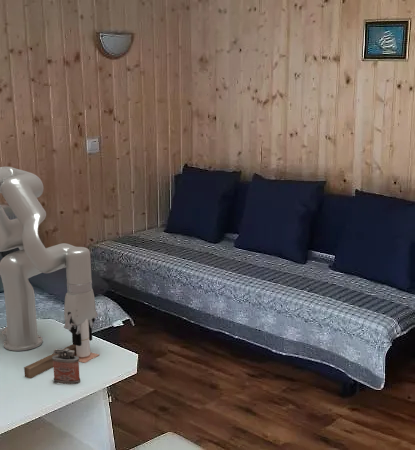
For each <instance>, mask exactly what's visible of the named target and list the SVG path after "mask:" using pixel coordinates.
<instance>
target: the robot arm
mask: <svg viewBox="0 0 415 450" xmlns="http://www.w3.org/2000/svg"><path fill="white" fill-rule="evenodd" d="M43 193H44V184H43V181H42V179H41V178H40V177H39V176H38V175H36V174H35V173H33V172H30V171H26V170H23V169H20V168H19V169H18V168H16V167H12V166H0V194H1V195H2V197H3V198H4V200H5V202H6V203H7V205H8V206H9V208H10V209H11V211H12V213H13V214H14V215H15V217H16V218H13V219H10V218H9V216H8V215H7V213H6V212H5V209H4V208H3V206H2V205H1V204H0V252H1V253H2V252H7V251H12V250H14V249H17V248H18V249H19V250H17V251H13V252H10V253H9V254H7V255H5V256H4V257H2V259H1V260H0V278H1V282H2V287H3V293H4V294H3V295H4V303H5V317H6V318H5V319H6V327H5V328H4V330H2V331H1V335H3V336H5V337H6V339H5V340H4V341H3V348H5V349H6V350H9V351H15V352H17V351H18V352H19V351H20V352H21V351H28V350H33V349H35V348H38V347H39V346H41V345H42V344H43V343H44V341H43V340H44V339H43V337H42V336H41V335H38V325H37V324H38V323H37V310H36V308H37V307H36V298H35V297H36V296H35V290H34V287H33V285H32V284H31V283H30V281H29V279H30V278H32V277H35V276H37V275H40V274H42V273H43V274H51V273H53V272H56V271H59V270H61V269H65V271H66V275H65V276H66V287H67V288H66V289H67V292H66V293H65V297H64V308H63V309H64V311H63V312H64V313H63V314H64V326H63V328H64V329H66V330H68V331H69V332H70V334H71V339H72V344H74V345H77V346H81V334H80V333H79V331H80V324H82V323H84V322H85V320H86V319H87V320H88V323H89V342H90V341H93V328H94V323H95V320H96V318H97V317H98V315H99V314H98V312H97V311H96V310H97V308H96V300H95V299H96V298H95V294H94V290H93V285H92V284H93V280H92V265H91V263H92V262H91V251H90V249H89V248H87V247H84V246H75V245H72V244H69V243H65V242H63V243H59V244H56V245H55V244H54V245H52V246H48V247H45V245H44V243H43V242H42V240H41V238H40V236H39V227H40V224H42V223H43V222H44V221H45V219H46V217H47V212H46V210H45V209H44V207H43V205H42V204H41V202H40V201H39V199H38V198H40V197H41V196H42V195H43ZM75 326H76V329H75Z"/></svg>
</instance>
